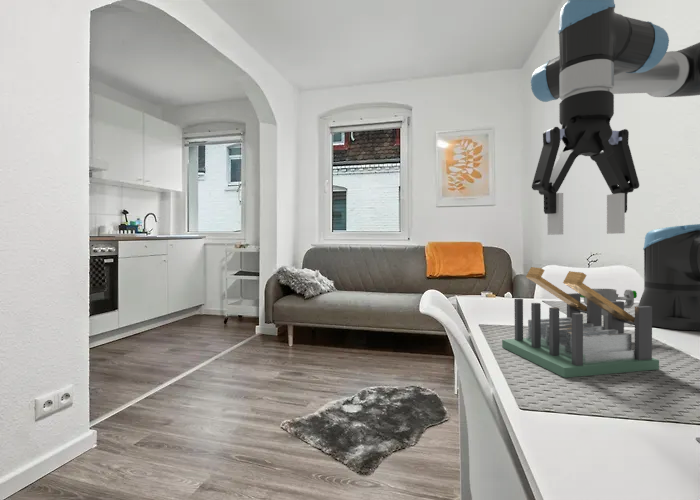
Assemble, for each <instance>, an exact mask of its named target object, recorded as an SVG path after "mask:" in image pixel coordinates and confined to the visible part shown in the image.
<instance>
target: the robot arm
mask: <svg viewBox="0 0 700 500" xmlns="http://www.w3.org/2000/svg"><path fill="white" fill-rule="evenodd" d="M615 8H616V4H615V0H567V1H566V2H565V3H564V5H563V6H562V8H561V10H560V13H559V23H558V25H559V26H558V31H557V34H558V41H559V44H558V45H559V55H558V56H557V57H555V58H552V59H548V60H547V61H546V62H545V63H543V64H542V65H540V66H539V67H537V68H536V69H535V70H534V71H533V72H532V75H531V77H530V87H531V91H532V94H533V95H534V97H535V98H536V99H537V100H539V101H541V102H543V103H544V102H545V103H547V102H551V101H556V100H559V99H560V100H561V101H560V103H559V104H558V105H559V107H558V108H559V110H558V111H559V112H558V113H559V116H558V117H559V118H558V119H559V124H560V125H561V128H560V127H558V126H553V127H552V128H550V129H547V130H544V131H543V133H542V140H543V141H542V143H543V145H542V148H541V152H540V156H539V159H538V163H537V165H536V170H535V173H534V176H533V179H532V184H531V189H532V190H533V191H538V193H539V195H541V196H543V212H544V214H545V215H547V236H549V235H551V236H552V235H553V236H555V235H556V236H557V235H558V236H560V235H561V236H562V235H564V192H558V191H559V190H560V189H561V186H562V184H563V183H564V182H565V180H566V177H567V175H568V173H569V171H570V170H571V168H572V166H573V165H574V162H575V160H576V159H577V158H578V157H579V156H584V157H590V159H591V160H592V161H593V162H595V165H596V166H597V168H598V169H599V171H600V173H601V175H602V177H603V179H604V181H605V183H606V185H607V186H608V189H609V190H610V192H611V194H607V195H606V234H608V235H609V234H611V235H612V234H625V231H626V229H625V226H626V225H625V219H626V217H625V216H626V215H625V214H627V211H628V193H633V192H634V191H635V190H638V189H639V187H640V181H639V178H638V174H637V170H636V167H635V162H634V160H633V156H632V153H631V148H630V144H629V139H630V138H629V137H630V136H629V135H630V134H629V130H628V129H627V128H625V129H621V130H613V129H612V127H611V120H612V118H613V116H614V114H615V112H614V111H615V100H614V99H615V95H621V94H647V95H649V96H650V97H653V98H675V97H677V98H679V97H693V96H700V42H697V43H695V44H692V45H689V46H687V47H685V48H682V49H679V50H671V51H668V48H669V44H670V38H669V34H668V32H667V31H666V30H665V29H664V28H663V27H661V26H660V25H657V24H654V23H653V22H652V21H644V20H641V19H636V18H634V17H629V16H624V15H623V14H620V13H616V12H615ZM561 141H562V143H563V144H564V145H563V147H562V148H561V150H560V152H559V149H560V145H561ZM558 152H559V153H558ZM557 156H558V159H557ZM556 159H557V161H556ZM555 162H556V163H555ZM642 250H643V261H644V262H643V266H644V267H643V271H644V272H643V275H644V276H643V279H644V280H643V281H644V283H643V284H644V285H643V286H644V287H643V292H642V294H641V297H640V300H639V303H638V306H650V307H652V327H656V328H657V327H658V328H663V329H671V330H682V331H697V332H698V331H700V223H695V224H693V223H692V224H685V225H675V226H667V227H661V228H660V227H659V228H656V229H655V228H654V229H651V230H650V231H648V232H646V234H645V237H644V245H643V249H642Z"/></svg>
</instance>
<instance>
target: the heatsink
mask: <svg viewBox="0 0 700 500" xmlns="http://www.w3.org/2000/svg"><path fill="white" fill-rule="evenodd" d="M525 338H526V340H529V341H531V342H532V333H531V319H528V320H527V331H526V332H525ZM541 346H543V347H546V348H548V349H549V318H541ZM559 353H560V354H563V355H565V356H568V357H570V358H572V318H570V317H567V316H566V317H559ZM625 360H635V349H632V334H631V333H630V332H624V333H619V334H618V330H615V329H611V330H605V327H603V325H602V326H594V324H592V323H587V322H585V323H584V322H583V363H585V364H588V363H601V362H613V361H625Z"/></svg>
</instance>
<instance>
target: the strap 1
mask: <svg viewBox="0 0 700 500" xmlns="http://www.w3.org/2000/svg"><path fill="white" fill-rule="evenodd" d="M544 272H545V269H543V268H542V267H535V266H533V267H532V266H530V269H529V270H528V272H527V273H526V276H525V278H526V279H528V280H530V281H531V282H532V283H534V284H536V285H537V286H538V287H540V288H542V289H544V291H545V290H546V291H547V292H548V293H549V294H552V295H553V296H555V297H556V298H557V299H559V300H560V301H562V302H564V303H565V304H566V305H567V304H568V305H570V306H571V307H573V308H574V310H575V311H578V312H580V313H581V314H583V313H584V314H587V305H586V304H585V303H582V302H581V301H580V302H579V301H577V300H576V299H574V298H573V297H571V296H570V295H568V294H569V293H567V292H565V291H564V290H562V289H560V288H559V287H557V286H556V285H554V284H552V283H551V282H550V281H548V280H547V279H545V278H543V277H542V276H543V274H544Z"/></svg>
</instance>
